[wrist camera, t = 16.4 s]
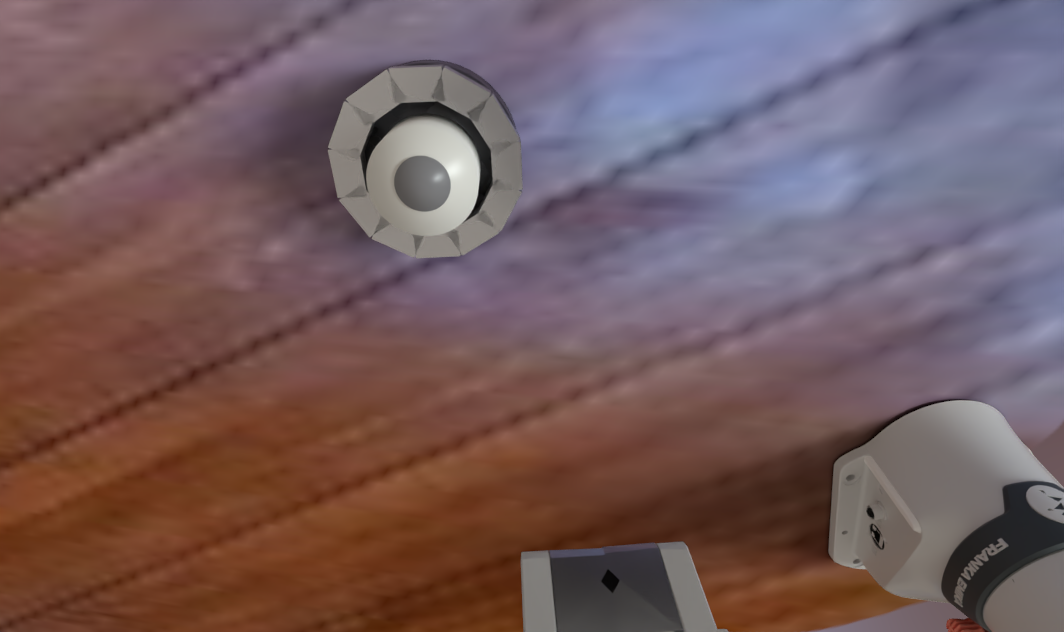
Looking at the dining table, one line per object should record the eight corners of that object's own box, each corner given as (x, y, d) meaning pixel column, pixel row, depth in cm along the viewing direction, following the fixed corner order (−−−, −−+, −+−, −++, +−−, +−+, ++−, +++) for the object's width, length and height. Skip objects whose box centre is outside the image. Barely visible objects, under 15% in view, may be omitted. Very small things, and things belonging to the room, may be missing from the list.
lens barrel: (522, 225, 39) (524, 252, 35) (368, 232, 39) (351, 261, 35) (515, 56, 34) (517, 63, 30) (336, 63, 34) (311, 71, 29)
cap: (484, 211, 35) (482, 234, 31) (388, 215, 34) (375, 239, 31) (476, 111, 32) (473, 124, 28) (372, 115, 32) (355, 128, 28)
